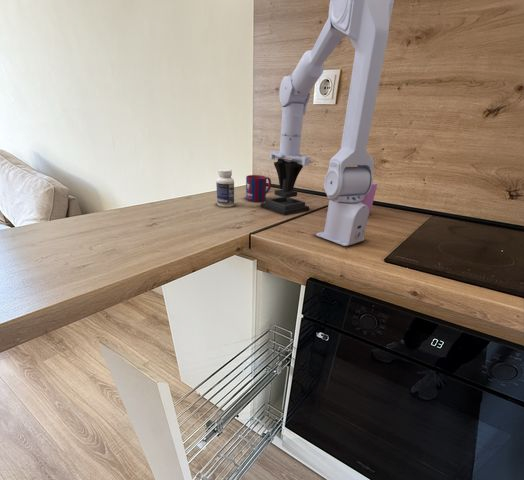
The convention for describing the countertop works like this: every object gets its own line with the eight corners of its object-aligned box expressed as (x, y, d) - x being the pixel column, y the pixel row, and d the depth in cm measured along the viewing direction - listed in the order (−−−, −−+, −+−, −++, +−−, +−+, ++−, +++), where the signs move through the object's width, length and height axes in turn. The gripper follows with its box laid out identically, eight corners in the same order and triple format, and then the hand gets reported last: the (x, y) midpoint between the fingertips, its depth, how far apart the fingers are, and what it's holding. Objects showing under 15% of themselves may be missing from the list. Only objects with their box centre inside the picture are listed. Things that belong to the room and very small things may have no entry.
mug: (242, 198, 104) (242, 175, 100) (265, 195, 109) (266, 173, 105) (253, 202, 100) (254, 179, 96) (276, 199, 105) (278, 177, 101)
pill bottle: (231, 208, 94) (231, 172, 88) (215, 206, 95) (213, 170, 89) (236, 203, 98) (236, 169, 92) (220, 202, 99) (219, 167, 93)
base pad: (309, 209, 97) (310, 202, 95) (284, 214, 91) (284, 207, 89) (285, 202, 103) (285, 195, 101) (260, 206, 97) (260, 199, 96)
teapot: (336, 221, 88) (344, 181, 82) (309, 208, 98) (314, 172, 91) (382, 215, 95) (392, 179, 89) (352, 204, 105) (360, 170, 98)
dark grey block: (296, 196, 94) (298, 180, 91) (285, 198, 92) (286, 181, 89) (285, 192, 97) (287, 177, 94) (274, 194, 94) (275, 178, 92)
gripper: (263, 133, 87) (261, 186, 95) (299, 138, 79) (293, 195, 87) (280, 133, 91) (277, 184, 99) (317, 137, 82) (310, 193, 91)
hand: (286, 189), depth 93 cm, fingers closed on dark grey block, 2 cm apart
